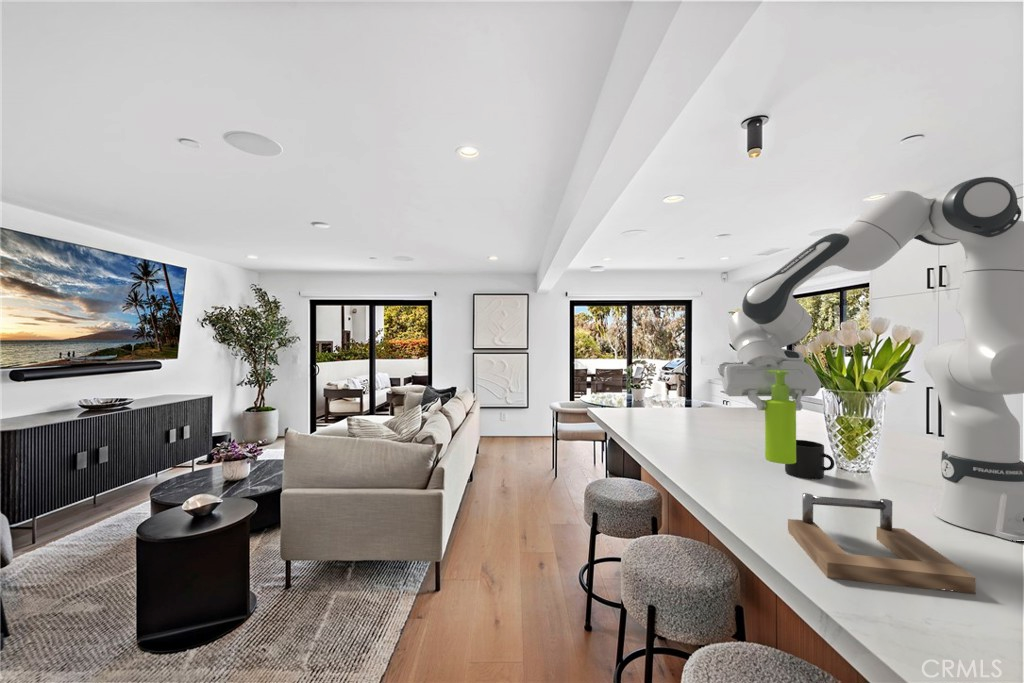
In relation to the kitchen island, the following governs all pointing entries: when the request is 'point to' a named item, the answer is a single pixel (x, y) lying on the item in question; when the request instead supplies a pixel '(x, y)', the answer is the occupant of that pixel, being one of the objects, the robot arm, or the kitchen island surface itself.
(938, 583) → the walnut board
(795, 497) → the kitchen island surface
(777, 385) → the soap dispenser
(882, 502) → the steel rail
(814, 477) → the mug
